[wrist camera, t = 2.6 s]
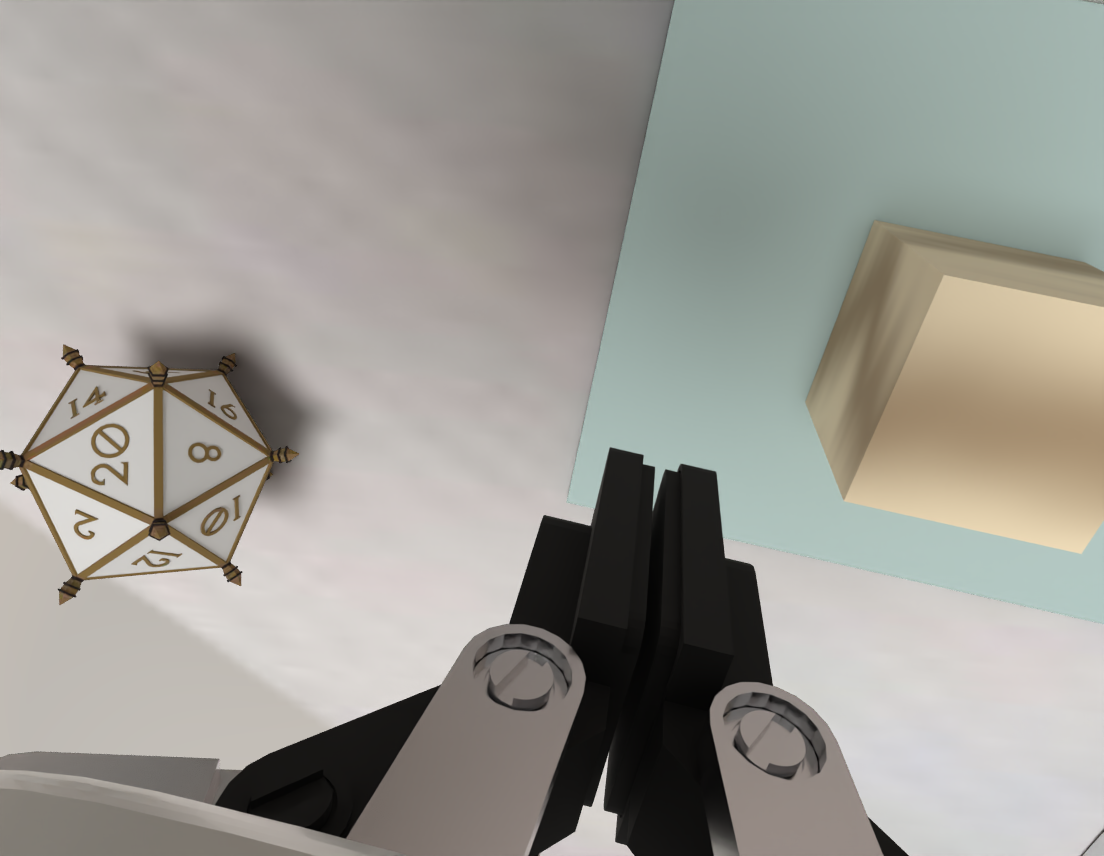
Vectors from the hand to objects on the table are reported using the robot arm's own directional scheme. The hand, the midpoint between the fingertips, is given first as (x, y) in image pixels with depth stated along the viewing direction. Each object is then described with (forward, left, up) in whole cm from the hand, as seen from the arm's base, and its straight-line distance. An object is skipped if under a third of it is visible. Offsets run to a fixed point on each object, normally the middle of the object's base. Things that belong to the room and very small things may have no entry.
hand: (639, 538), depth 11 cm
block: (-1, +9, -13) cm, 16 cm away
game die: (+8, -15, -14) cm, 22 cm away
